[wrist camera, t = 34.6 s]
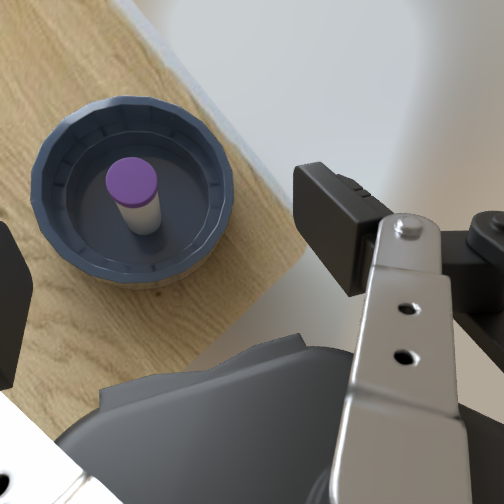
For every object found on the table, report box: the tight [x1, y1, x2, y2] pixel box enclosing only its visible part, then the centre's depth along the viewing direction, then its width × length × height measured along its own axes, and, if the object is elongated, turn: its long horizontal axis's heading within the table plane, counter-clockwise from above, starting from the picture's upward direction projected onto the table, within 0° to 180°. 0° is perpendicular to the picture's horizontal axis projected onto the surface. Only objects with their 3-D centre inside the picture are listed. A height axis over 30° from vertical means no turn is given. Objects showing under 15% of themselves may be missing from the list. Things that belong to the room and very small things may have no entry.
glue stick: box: [106, 158, 162, 235], centre depth 32 cm, size 3×3×10 cm
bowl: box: [30, 96, 234, 290], centre depth 34 cm, size 16×16×6 cm
